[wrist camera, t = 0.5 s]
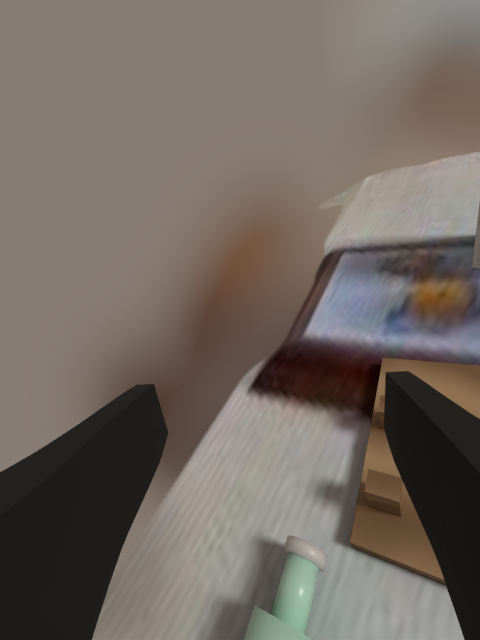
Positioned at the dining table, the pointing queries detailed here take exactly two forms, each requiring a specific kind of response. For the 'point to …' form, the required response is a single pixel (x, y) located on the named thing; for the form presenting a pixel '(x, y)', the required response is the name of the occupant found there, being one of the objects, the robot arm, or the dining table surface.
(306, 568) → the bottle
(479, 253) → the skincare box
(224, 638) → the dining table surface
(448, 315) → the dining table surface
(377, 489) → the bottle cradle
